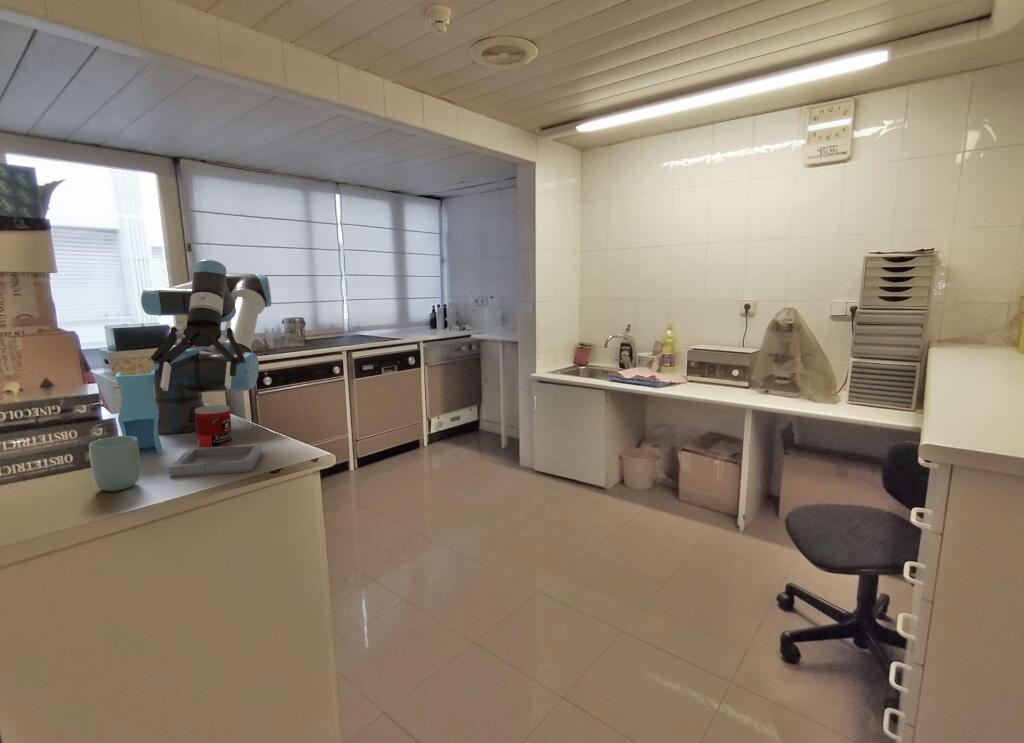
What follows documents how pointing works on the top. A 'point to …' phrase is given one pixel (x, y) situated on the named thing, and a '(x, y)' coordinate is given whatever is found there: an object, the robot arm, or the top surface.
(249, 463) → the grey square tray
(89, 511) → the top surface
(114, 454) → the cup
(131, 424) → the blue wavy stand
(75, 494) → the top surface
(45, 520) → the top surface
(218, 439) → the canned food
